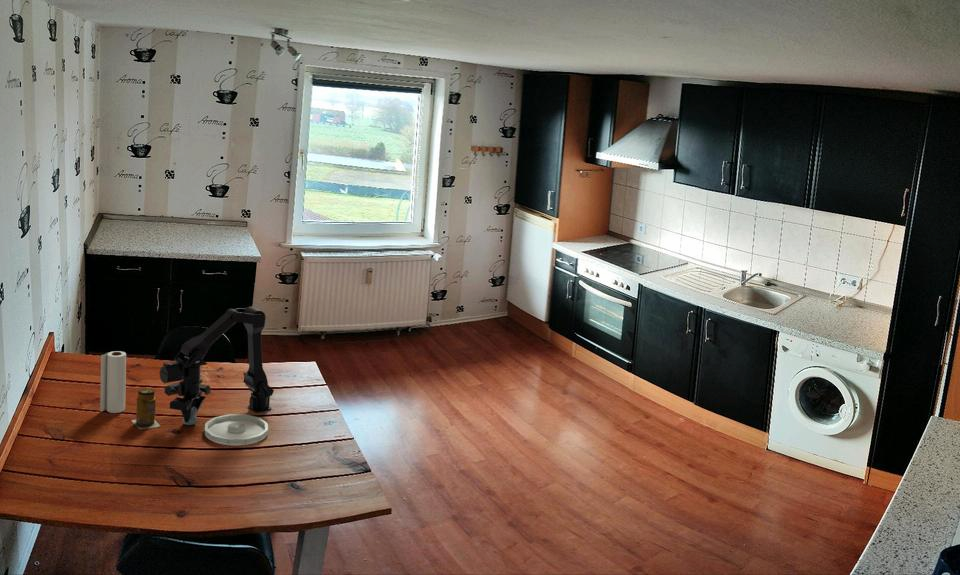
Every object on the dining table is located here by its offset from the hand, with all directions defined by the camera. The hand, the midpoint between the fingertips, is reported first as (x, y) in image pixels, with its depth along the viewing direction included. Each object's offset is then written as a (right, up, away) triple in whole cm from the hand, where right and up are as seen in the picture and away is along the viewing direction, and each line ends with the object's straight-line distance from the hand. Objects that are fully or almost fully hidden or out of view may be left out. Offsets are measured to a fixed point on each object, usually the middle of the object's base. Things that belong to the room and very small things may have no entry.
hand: (189, 419), depth 291 cm
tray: (+17, -4, -1) cm, 17 cm away
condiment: (-14, -1, -3) cm, 15 cm away
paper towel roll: (-28, +3, +4) cm, 29 cm away
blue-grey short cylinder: (0, -1, 0) cm, 1 cm away
